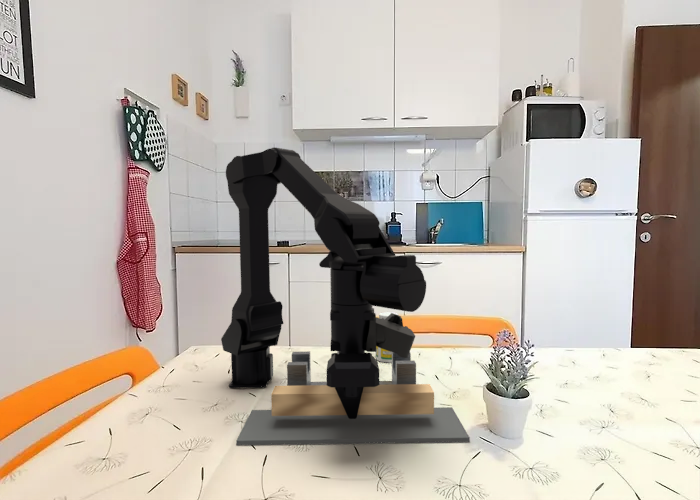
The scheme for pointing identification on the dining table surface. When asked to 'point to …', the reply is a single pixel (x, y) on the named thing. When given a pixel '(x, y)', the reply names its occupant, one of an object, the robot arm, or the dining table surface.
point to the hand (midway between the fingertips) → (352, 412)
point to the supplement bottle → (381, 353)
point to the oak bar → (372, 401)
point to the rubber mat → (352, 429)
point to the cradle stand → (302, 376)
